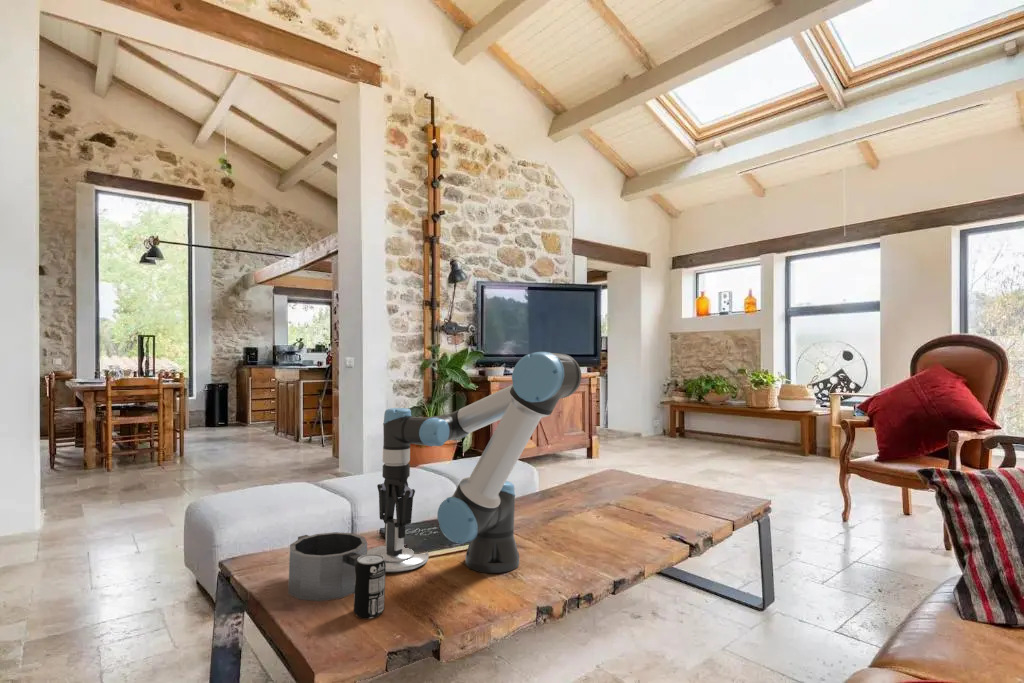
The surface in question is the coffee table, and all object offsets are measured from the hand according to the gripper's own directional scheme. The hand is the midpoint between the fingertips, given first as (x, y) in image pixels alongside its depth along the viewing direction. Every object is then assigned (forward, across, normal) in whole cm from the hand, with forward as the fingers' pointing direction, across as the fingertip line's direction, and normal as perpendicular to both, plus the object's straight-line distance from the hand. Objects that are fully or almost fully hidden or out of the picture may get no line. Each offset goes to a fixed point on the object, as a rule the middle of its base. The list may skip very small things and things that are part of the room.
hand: (394, 547), depth 152 cm
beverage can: (+4, -20, +24) cm, 31 cm away
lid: (+3, 0, 0) cm, 3 cm away
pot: (+4, 0, +21) cm, 21 cm away
